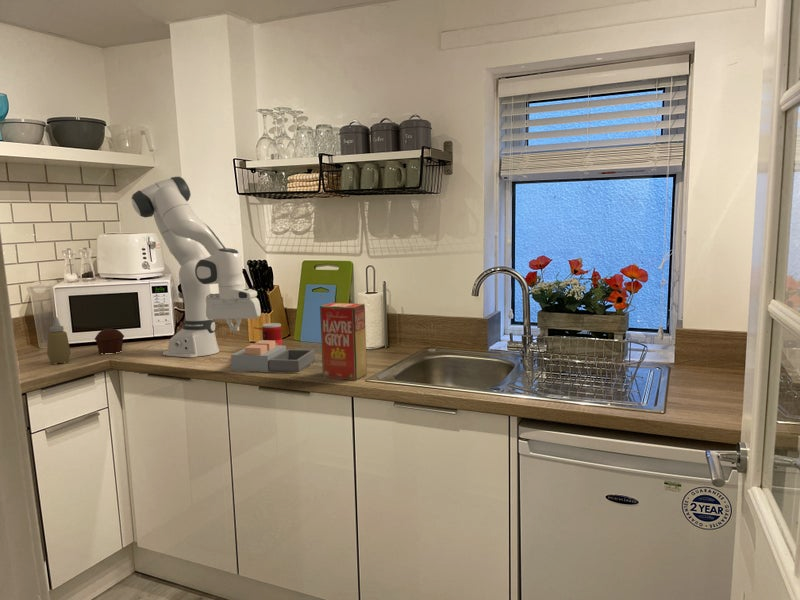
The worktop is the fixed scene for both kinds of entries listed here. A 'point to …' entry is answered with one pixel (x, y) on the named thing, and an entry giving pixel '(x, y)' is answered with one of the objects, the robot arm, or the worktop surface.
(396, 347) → the worktop surface
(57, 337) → the squeeze bottle
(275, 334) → the canned food
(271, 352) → the grey rectangular box
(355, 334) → the food packaging
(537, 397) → the worktop surface
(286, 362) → the box
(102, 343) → the muffin
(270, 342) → the tile
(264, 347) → the tile
